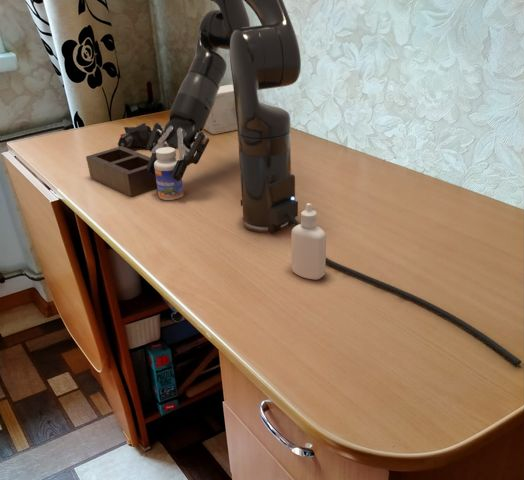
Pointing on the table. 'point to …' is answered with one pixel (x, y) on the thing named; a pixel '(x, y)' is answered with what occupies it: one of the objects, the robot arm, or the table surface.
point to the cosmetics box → (222, 112)
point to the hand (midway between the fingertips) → (162, 175)
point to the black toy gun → (135, 136)
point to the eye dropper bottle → (308, 246)
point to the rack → (122, 170)
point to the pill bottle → (167, 174)
